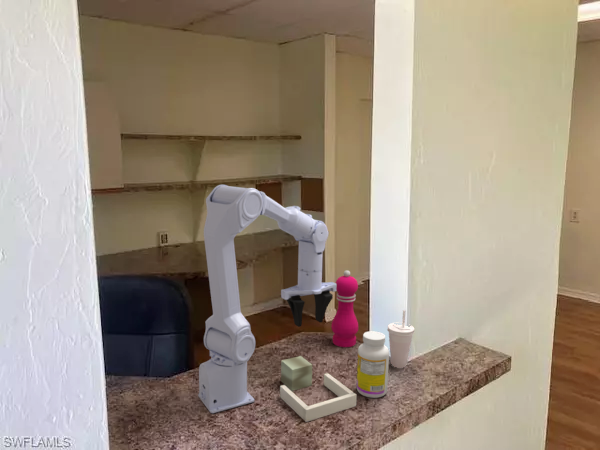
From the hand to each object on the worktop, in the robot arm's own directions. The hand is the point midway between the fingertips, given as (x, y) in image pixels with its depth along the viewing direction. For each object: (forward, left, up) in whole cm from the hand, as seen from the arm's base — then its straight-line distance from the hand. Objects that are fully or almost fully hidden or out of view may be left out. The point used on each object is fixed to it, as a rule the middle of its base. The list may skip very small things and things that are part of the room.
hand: (308, 323), depth 119 cm
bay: (-8, -18, -9) cm, 22 cm away
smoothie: (+18, -13, -10) cm, 24 cm away
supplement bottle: (+4, -20, -10) cm, 22 cm away
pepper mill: (+14, +4, -10) cm, 17 cm away
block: (-8, -9, -10) cm, 16 cm away
